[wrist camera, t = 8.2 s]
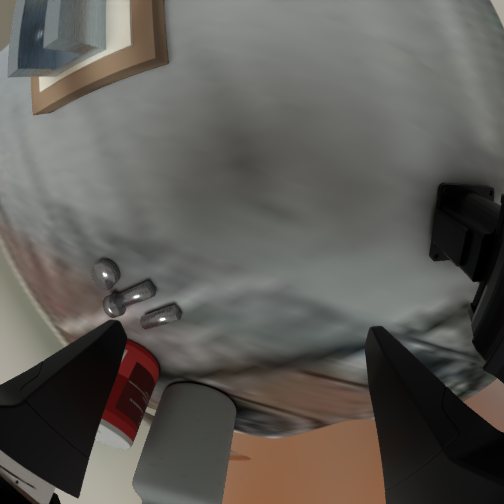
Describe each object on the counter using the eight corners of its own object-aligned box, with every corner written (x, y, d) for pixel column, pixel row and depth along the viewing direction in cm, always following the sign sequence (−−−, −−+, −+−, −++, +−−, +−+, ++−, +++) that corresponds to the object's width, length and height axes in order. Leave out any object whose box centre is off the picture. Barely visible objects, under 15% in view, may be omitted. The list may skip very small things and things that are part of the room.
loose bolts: (132, 240, 21) (119, 252, 19) (182, 313, 24) (175, 329, 22) (91, 265, 23) (79, 277, 21) (138, 327, 26) (129, 341, 24)
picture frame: (162, -48, 9) (150, -61, 7) (168, 63, 14) (153, 57, 12) (50, 9, 11) (34, 5, 8) (49, 113, 16) (30, 115, 14)
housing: (106, 49, 12) (57, 38, 7) (55, 76, 12) (7, 77, 8) (108, -29, 8) (70, -50, 4) (59, 0, 9) (19, -10, 4)
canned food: (95, 349, 29) (57, 413, 19) (121, 326, 26) (74, 405, 16) (140, 384, 31) (112, 450, 21) (173, 368, 28) (144, 449, 18)
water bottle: (255, 408, 31) (229, 604, 6) (208, 424, 34) (175, 583, 9) (191, 370, 28) (129, 596, 3) (151, 392, 32) (93, 564, 7)
